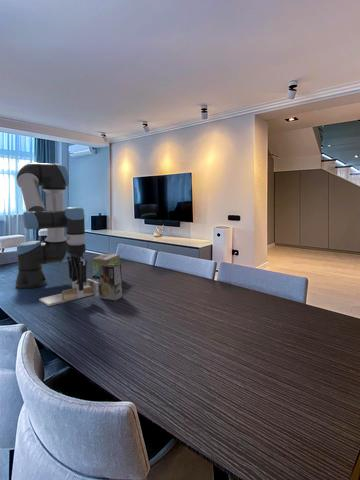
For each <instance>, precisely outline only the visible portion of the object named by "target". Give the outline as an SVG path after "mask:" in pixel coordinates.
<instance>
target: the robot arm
mask: <svg viewBox="0 0 360 480" xmlns="http://www.w3.org/2000/svg"><path fill="white" fill-rule="evenodd" d="M69 178H70V177H69V174H68V170H67V168H66V166H65V165H64V164H60V163H49V162H48V163H43V162H42V163H41V162H30V163H26V164H25V165H24V166H22V167H21V168H20V169H19V171H18V172H17V174H16V183H17V185H18V187H19V188H20V191H21V194H22V198H23V202H24V205H25V211H24V212H23V213H22V214H23V215H22V221H23V227H24V228H25V229H26V230H42V229H43V230H46V229H47V231H46V232H47V233H46V234H47V236H46V238H45V239H44V242H41V241H40V240H31V241H25V242H22V243H20V244H18V245H17V246H16V255H17V270H18V272H17V275H16V280H15V287H16V288H18V289H25V290H26V289H34V288H35V289H36V288H39V287H43V286H45V285H47V277H46V275H45V273H44V270H43V265H50V264H51V265H52V264H62V263H65V262H67V265H68V276H69V280H71V282H72V289H73V288H77V298H79V299H81V297H82V298H85V297H84V292H83V286H84V283H87V265H88V261H87V260H85V259H84V255H83V254H85V253H86V251H87V250H86V233H85V232H86V230H85V227H86V226H85V225H86V224H85V223H86V222H85V217H86V215H85V209H84V208H83V207H82V206H81V207H78V206H72V207H71V206H70V207H65V209H64V194H63V193H64V192H65V191H66V190H67V189H66V187H68V186H69V184H70V179H69ZM40 187H41V189H42V191H43V192H44V193H45V204H44V201H43V200H44V199H43V198H42V195H41V191H40ZM65 233H66V234H65ZM65 235H66V236H65Z"/></svg>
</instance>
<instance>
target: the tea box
mask: <svg viewBox="0 0 360 480" xmlns="http://www.w3.org/2000/svg"><path fill="white" fill-rule="evenodd" d="M120 262H121V261H120V254H115V253H114V254H113V253H110V254H109V253H103V254H100V255H98V256H96V257H94V258H93V257H92V265H91V266H92V280H94V281H96V282H98V286H99V265H101V264H104V263H112V264H121V263H120Z"/></svg>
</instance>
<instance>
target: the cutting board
mask: <svg viewBox="0 0 360 480" xmlns="http://www.w3.org/2000/svg"><path fill="white" fill-rule="evenodd" d="M78 299H80V298H78ZM78 299H77V300H78ZM38 300H39V302H41V303H42V304H44V305H46V306H47V307H52V306H55V305H58V304H63V303H66V302H65V301H63V300H62V292H61V293H57V294H53V295H49V296H44V297H41V298H39V299H38ZM74 300H76V299H74Z"/></svg>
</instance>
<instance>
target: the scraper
mask: <svg viewBox="0 0 360 480" xmlns="http://www.w3.org/2000/svg"><path fill="white" fill-rule="evenodd" d="M83 292H84V297H81V298H85V297H89V296H93V295H94V296H95V297H98V296H100V289H99V285H98V282H96V281H94V280H93V279H91V278H86V285H83ZM61 293H62V300H63V301H65V302H64V303H67V302H70V301H73V300H74V299H75V300H78V298H77V288H73V287H72V288H68V289H64V290H62V291H61ZM81 298H80V299H81Z"/></svg>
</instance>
